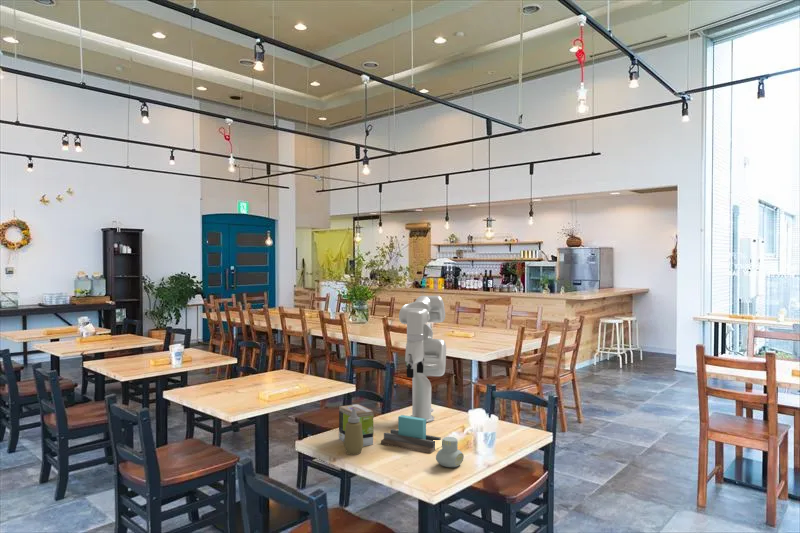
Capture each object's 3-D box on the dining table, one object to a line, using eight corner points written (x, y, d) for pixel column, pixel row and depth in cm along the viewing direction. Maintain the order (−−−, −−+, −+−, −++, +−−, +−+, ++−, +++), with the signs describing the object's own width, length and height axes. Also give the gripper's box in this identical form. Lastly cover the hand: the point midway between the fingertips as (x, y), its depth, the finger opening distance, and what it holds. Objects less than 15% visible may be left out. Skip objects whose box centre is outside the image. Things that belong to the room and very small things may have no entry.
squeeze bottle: (341, 450, 219) (341, 407, 219) (359, 448, 222) (360, 405, 222) (347, 457, 211) (347, 412, 211) (366, 454, 214) (366, 410, 215)
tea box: (374, 444, 227) (374, 410, 227) (353, 448, 221) (353, 413, 221) (358, 435, 239) (358, 403, 240) (338, 439, 234) (338, 405, 234)
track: (394, 436, 238) (394, 427, 238) (443, 445, 226) (443, 435, 226) (380, 443, 228) (380, 434, 228) (430, 453, 216) (430, 443, 216)
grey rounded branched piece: (452, 471, 196) (452, 444, 196) (433, 467, 201) (433, 440, 201) (465, 463, 205) (465, 437, 205) (447, 458, 210) (447, 433, 210)
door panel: (401, 437, 231) (401, 415, 231) (425, 442, 225) (426, 418, 226) (398, 439, 229) (398, 416, 229) (422, 444, 223) (422, 420, 223)
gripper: (416, 334, 249) (416, 370, 249) (398, 340, 234) (398, 378, 234) (430, 335, 245) (430, 372, 246) (413, 341, 230) (413, 380, 231)
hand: (415, 375), depth 240 cm, fingers open, 9 cm apart
